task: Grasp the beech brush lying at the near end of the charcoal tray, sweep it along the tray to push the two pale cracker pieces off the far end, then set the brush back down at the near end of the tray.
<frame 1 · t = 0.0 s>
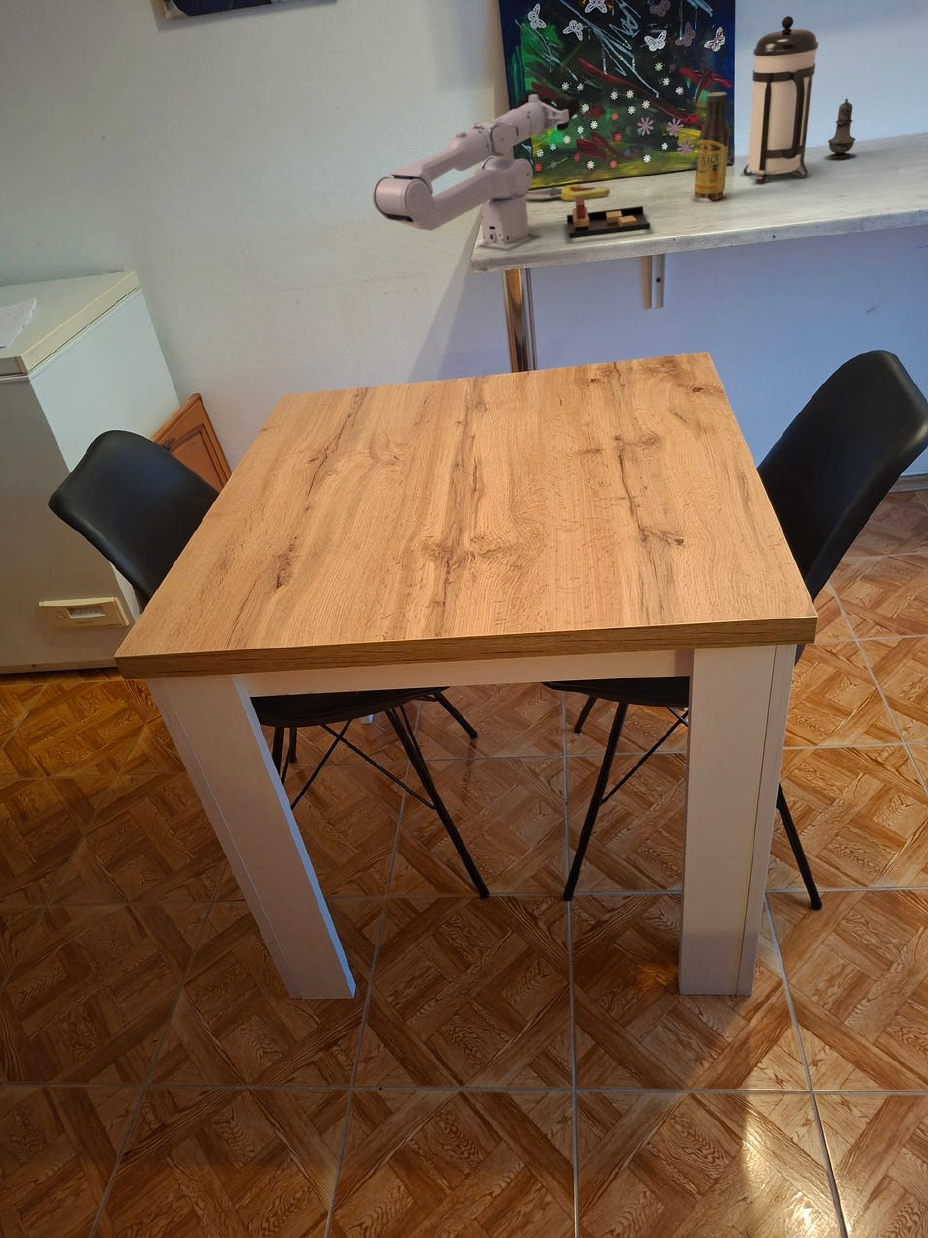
hand: (563, 103, 179), 22 cm above the table, tool horizontal, fingers open, 7 cm apart
tray: (607, 229, 180), on the table
cracker piece A: (614, 219, 182), point 1 cm above the table, touching tray
brush: (581, 227, 180), point 1 cm above the table, touching tray
brown glass bottle: (709, 199, 189), on the table
cracker piece B: (627, 224, 177), point 1 cm above the table, touching tray
yellow scissors: (558, 199, 206), on the table
salt shaker: (839, 157, 203), on the table
coffee press: (778, 177, 196), on the table
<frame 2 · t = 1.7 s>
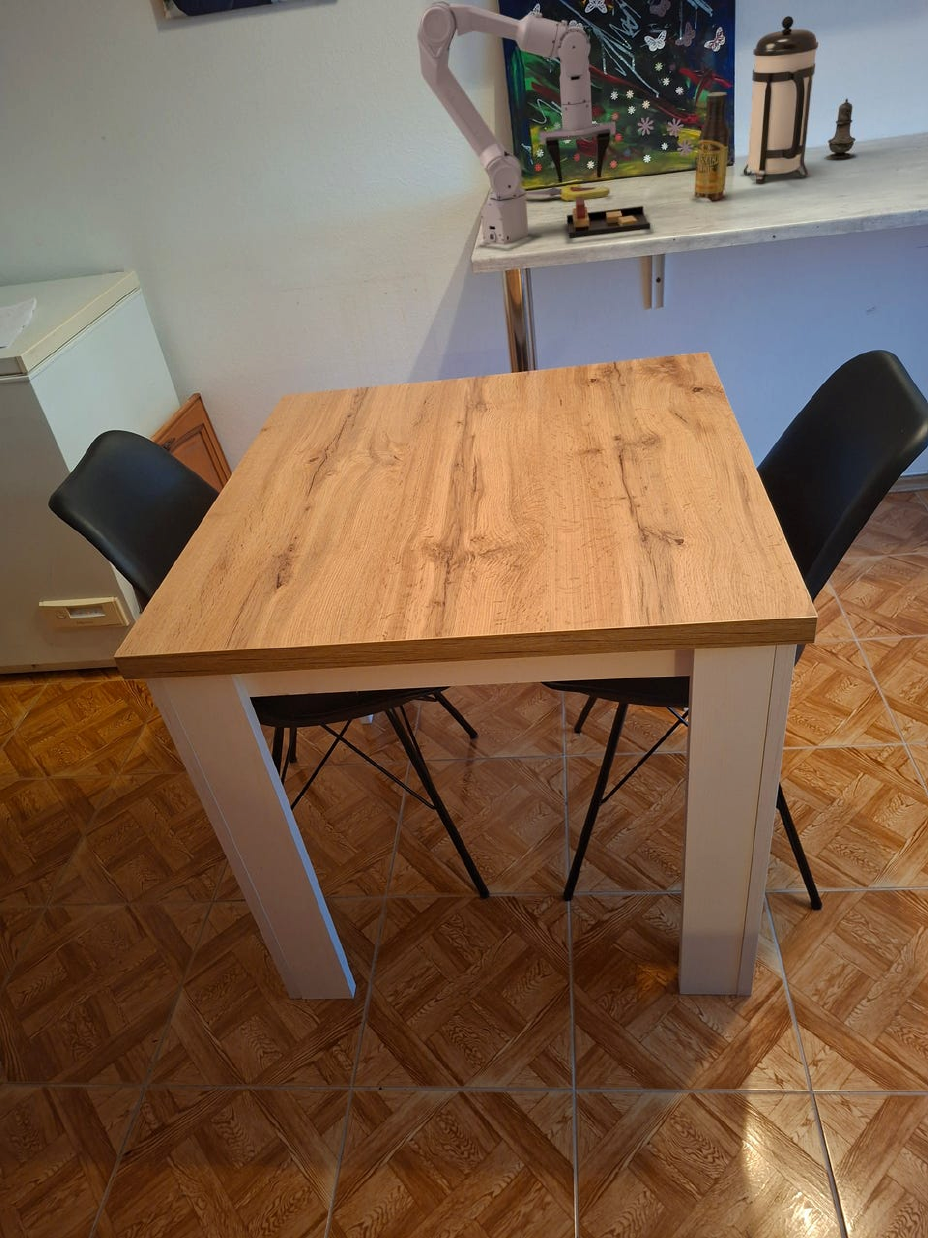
hand: (579, 178, 175), 10 cm above the table, tool pointing down, fingers open, 7 cm apart
nothing on the table moved.
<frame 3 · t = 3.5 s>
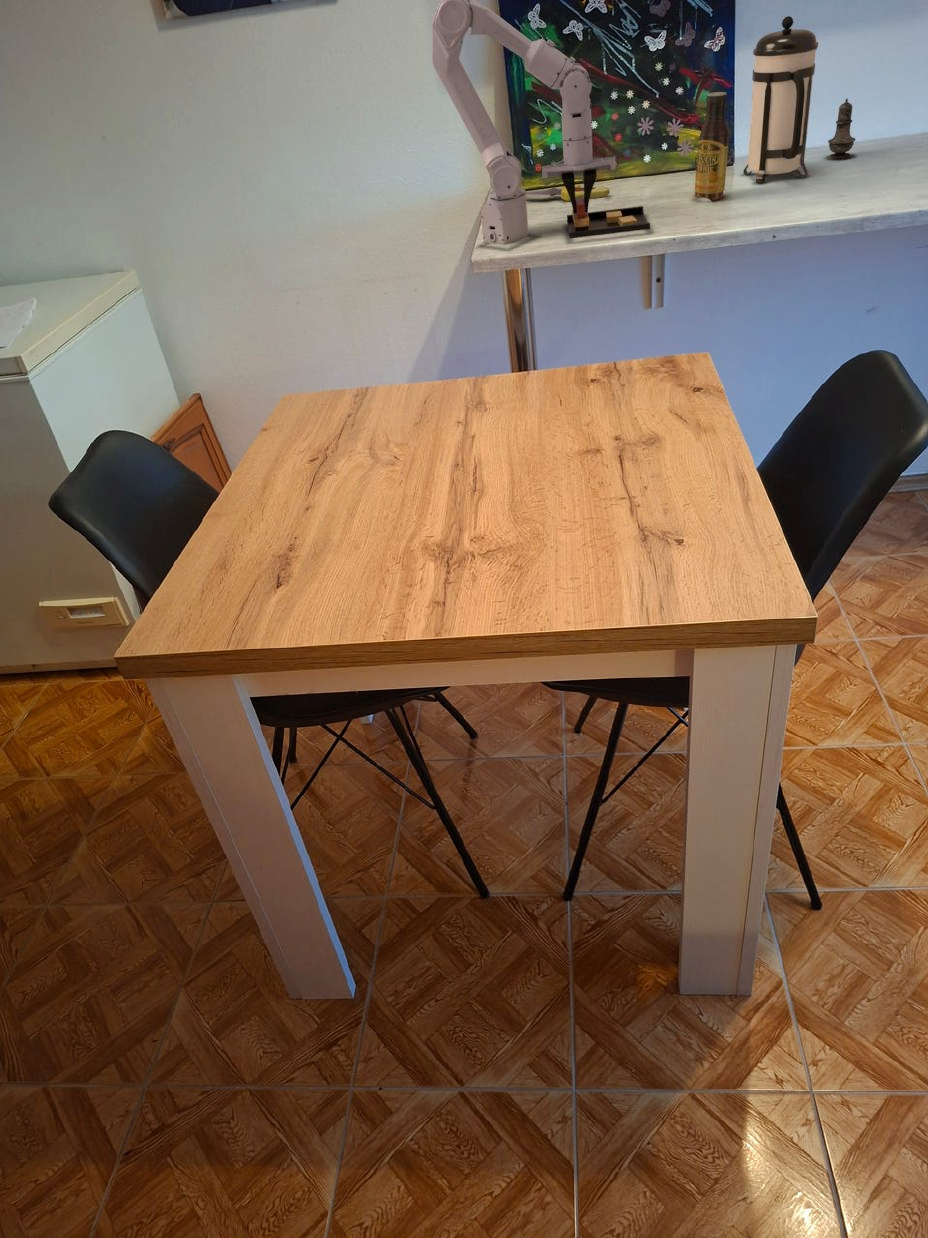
hand: (580, 211, 179), 4 cm above the table, tool pointing down, fingers closed on brush
brush: (581, 227, 180), point 1 cm above the table, touching gripper, tray
everything else where it was.
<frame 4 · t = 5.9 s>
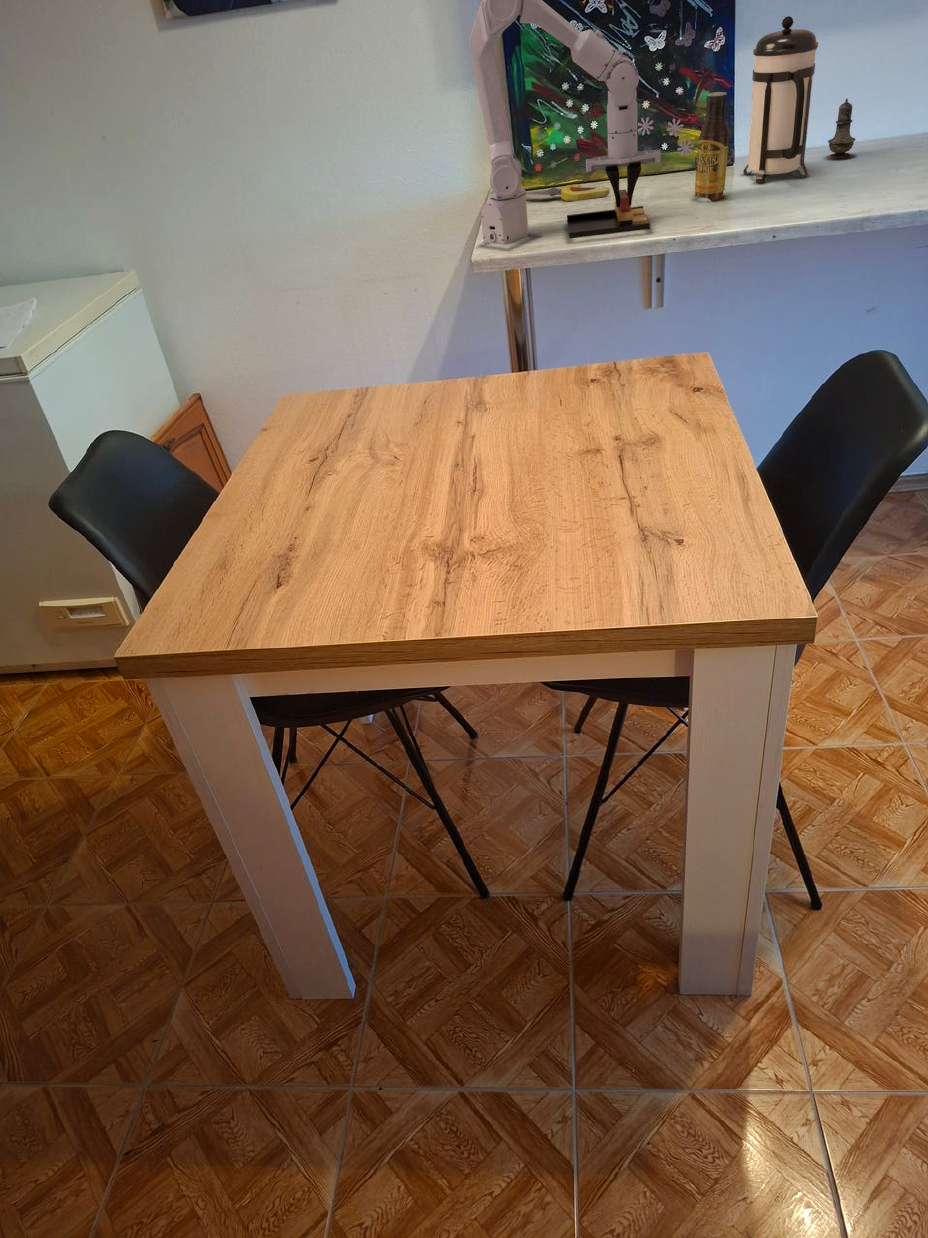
hand: (623, 205, 177), 4 cm above the table, tool pointing down, fingers closed on brush
cracker piece A: (636, 217, 181), point 1 cm above the table, touching brush, tray
brush: (623, 220, 179), point 1 cm above the table, touching cracker piece A, gripper
cracker piece B: (639, 223, 177), point 1 cm above the table
everything else where it was.
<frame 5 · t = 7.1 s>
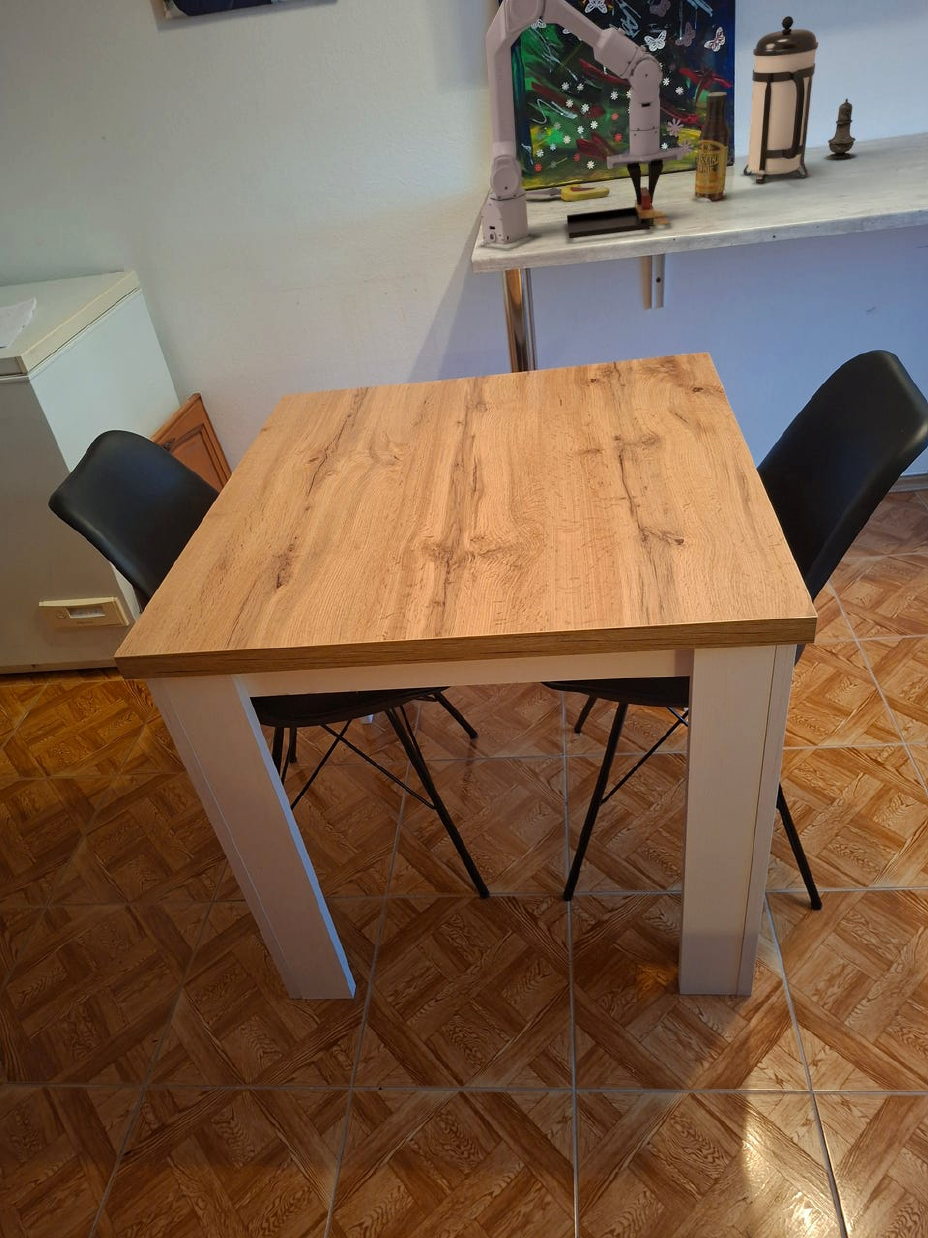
hand: (644, 202, 177), 4 cm above the table, tool pointing down, fingers closed on brush
cracker piece A: (655, 219, 181), on the table, touching brush
brush: (644, 218, 179), point 1 cm above the table, touching cracker piece A, cracker piece B, gripper
cracker piece B: (659, 226, 177), on the table, touching brush
everything else where it was.
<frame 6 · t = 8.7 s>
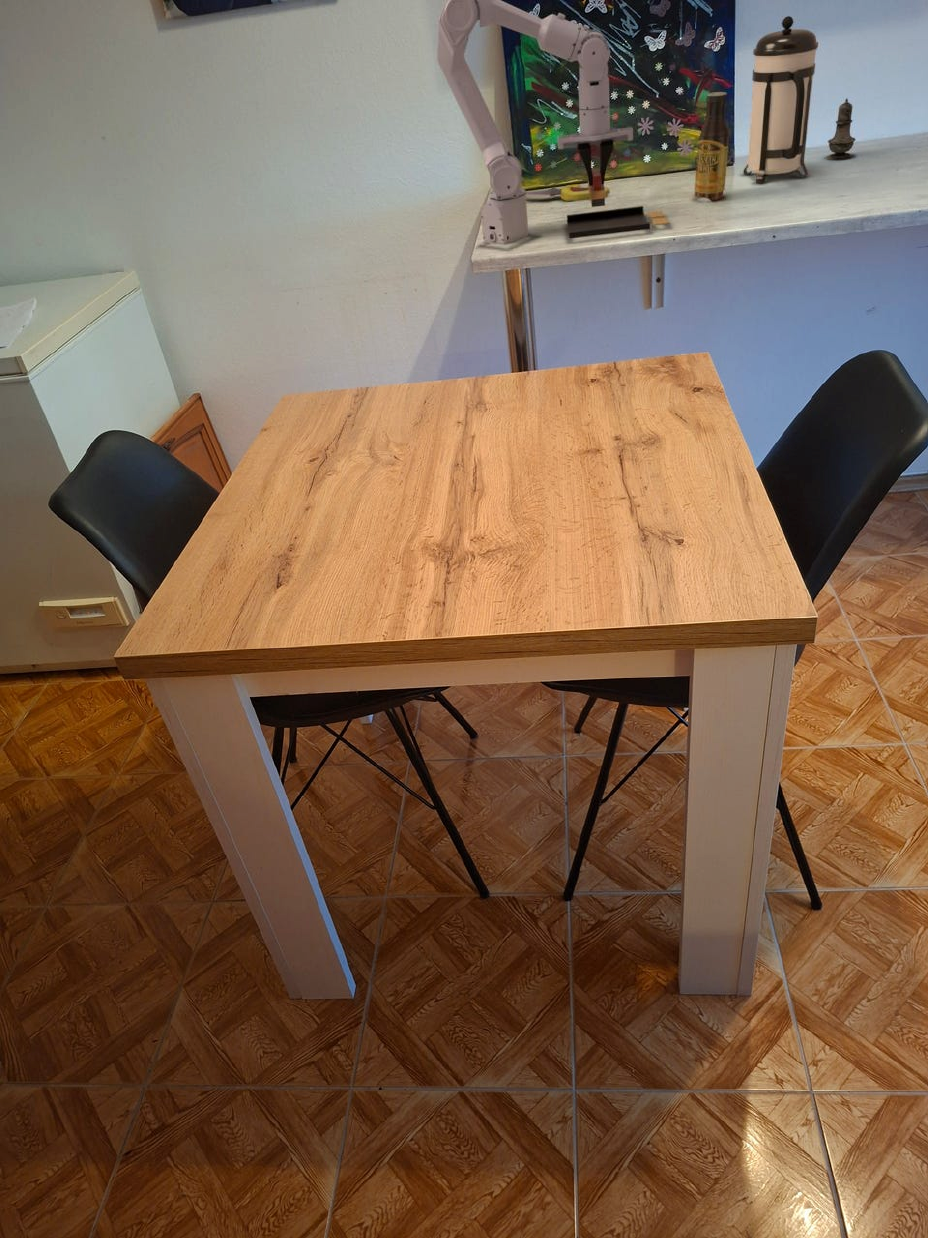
hand: (596, 184, 175), 9 cm above the table, tool pointing down, fingers closed on brush
cracker piece A: (655, 219, 181), on the table
brush: (596, 199, 177), point 6 cm above the table, touching gripper
cracker piece B: (660, 226, 177), on the table
everything else where it was.
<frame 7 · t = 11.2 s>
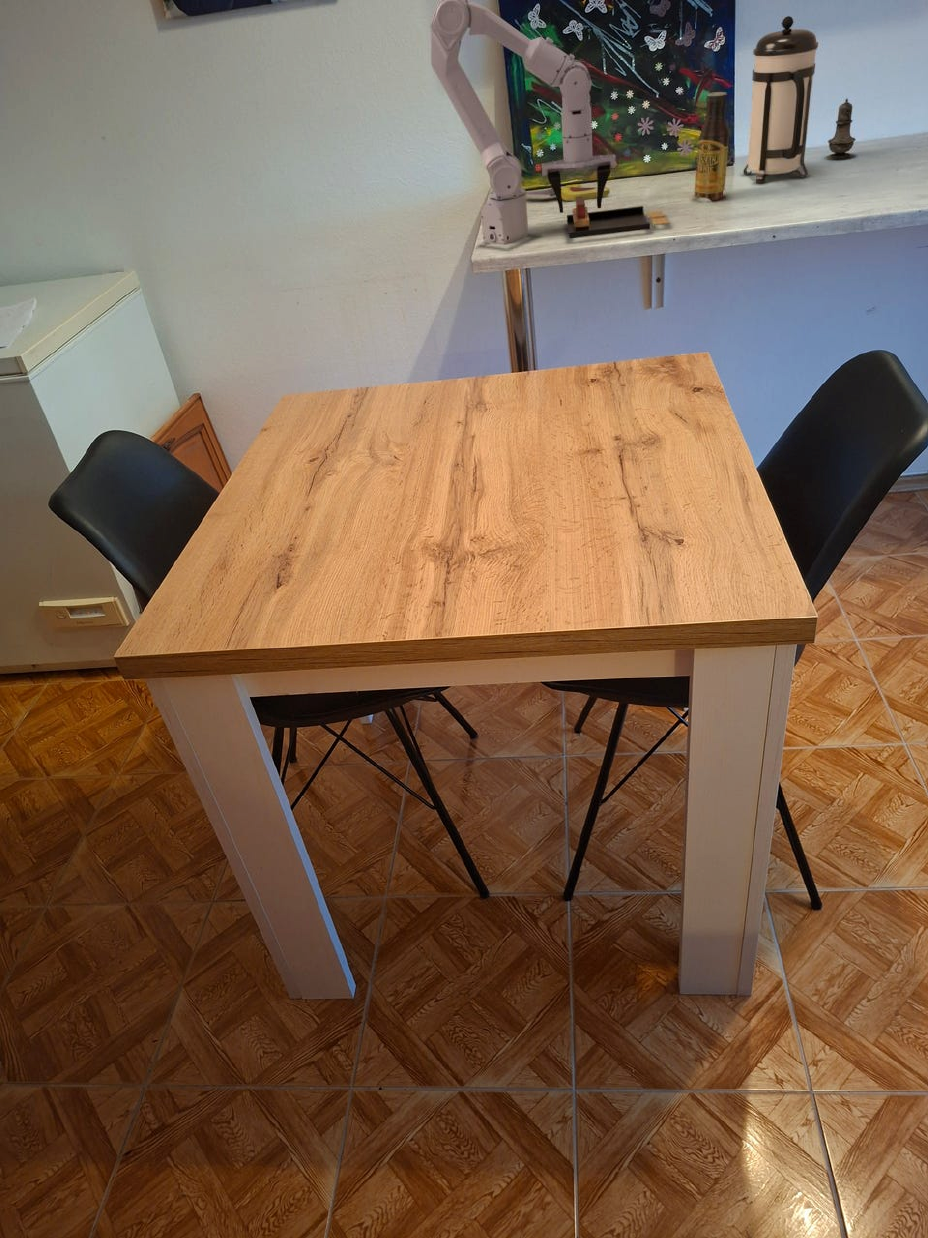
hand: (580, 209, 178), 4 cm above the table, tool pointing down, fingers open, 7 cm apart
brush: (581, 227, 180), point 1 cm above the table, touching tray
everything else where it was.
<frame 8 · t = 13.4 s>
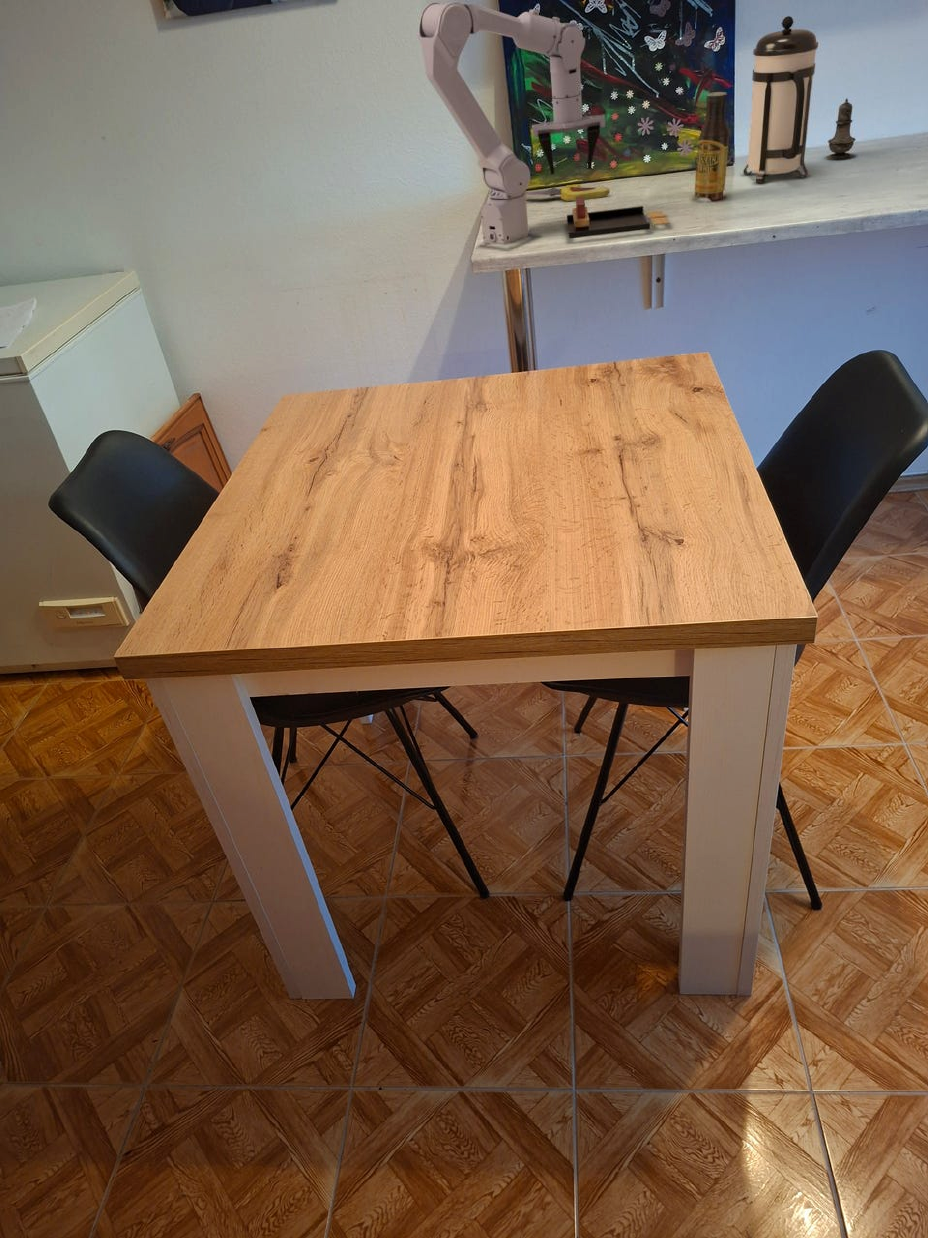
hand: (570, 170, 181), 10 cm above the table, tool pointing down, fingers open, 7 cm apart
nothing on the table moved.
at the end: cracker piece A on the table; cracker piece B on the table; brush 0.0 cm from the target spot on the tray, point 1.0 cm above the tray's base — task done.
